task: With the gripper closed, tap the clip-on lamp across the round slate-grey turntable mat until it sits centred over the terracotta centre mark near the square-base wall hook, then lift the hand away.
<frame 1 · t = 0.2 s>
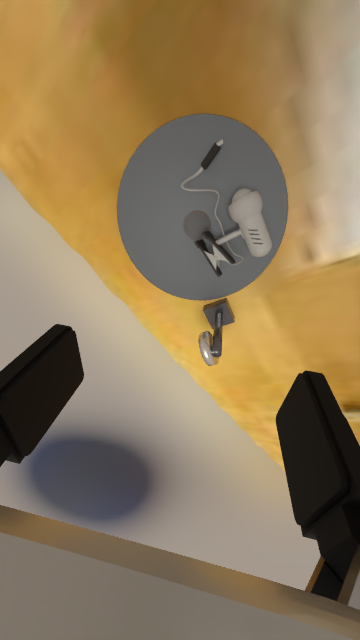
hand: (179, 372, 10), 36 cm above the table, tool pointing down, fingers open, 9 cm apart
square-base wall hook: (219, 311, 49), on the table
turntable mat: (197, 225, 41), on the table
clip-on lamp: (223, 212, 39), on the table, touching turntable mat
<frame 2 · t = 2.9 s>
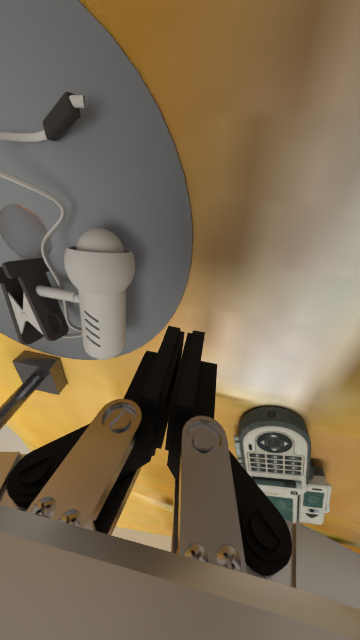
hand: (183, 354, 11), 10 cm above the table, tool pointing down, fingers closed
square-base wall hook: (46, 367, 31), on the table
turntable mat: (26, 234, 20), on the table
communication device: (276, 452, 33), on the table
clip-on lamp: (78, 242, 20), on the table, touching turntable mat
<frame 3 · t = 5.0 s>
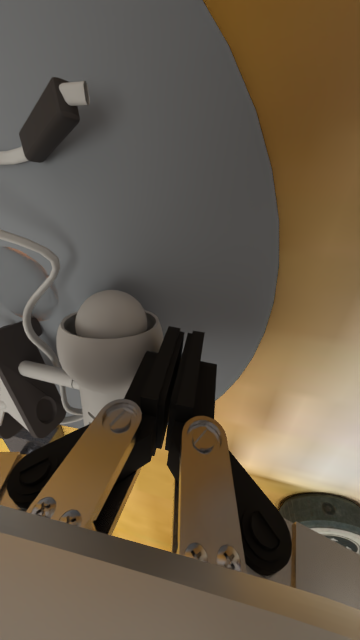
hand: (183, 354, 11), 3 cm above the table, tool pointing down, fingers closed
square-base wall hook: (43, 433, 24), on the table
turntable mat: (23, 286, 14), on the table
communication device: (319, 533, 27), on the table
clip-on lamp: (79, 299, 14), on the table, touching gripper
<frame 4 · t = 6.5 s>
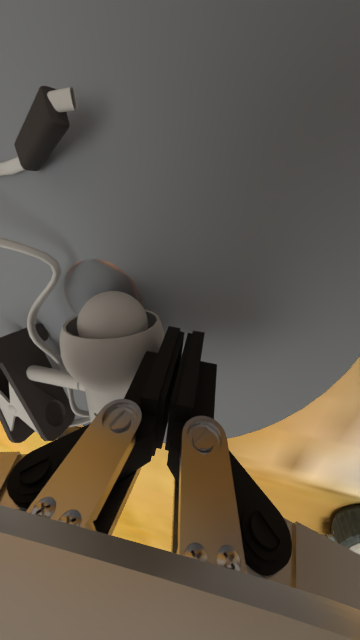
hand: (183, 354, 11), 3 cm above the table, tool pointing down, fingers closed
turntable mat: (104, 298, 14), on the table
clip-on lamp: (81, 302, 14), on the table, touching gripper, turntable mat
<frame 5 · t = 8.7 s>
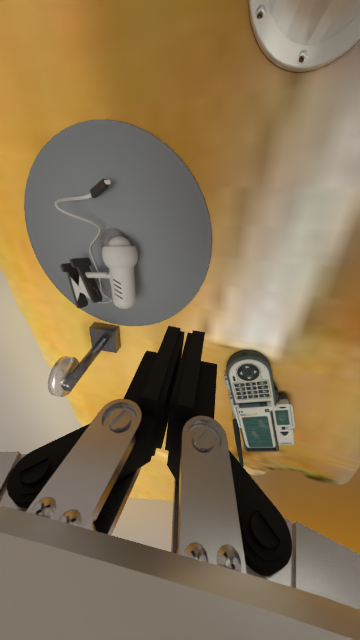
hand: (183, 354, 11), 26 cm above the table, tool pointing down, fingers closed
square-base wall hook: (107, 334, 45), on the table
turntable mat: (116, 244, 36), on the table
communication device: (256, 392, 47), on the table
clip-on lamp: (106, 247, 36), on the table, touching turntable mat
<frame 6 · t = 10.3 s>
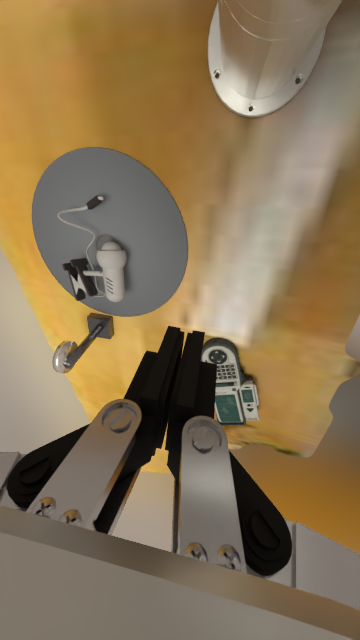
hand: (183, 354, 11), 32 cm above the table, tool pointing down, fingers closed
square-base wall hook: (102, 323, 53), on the table
turntable mat: (108, 247, 42), on the table
communication device: (228, 374, 55), on the table
clip-on lamp: (100, 249, 43), on the table, touching turntable mat
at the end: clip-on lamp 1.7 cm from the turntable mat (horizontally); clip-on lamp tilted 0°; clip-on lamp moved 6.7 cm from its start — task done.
